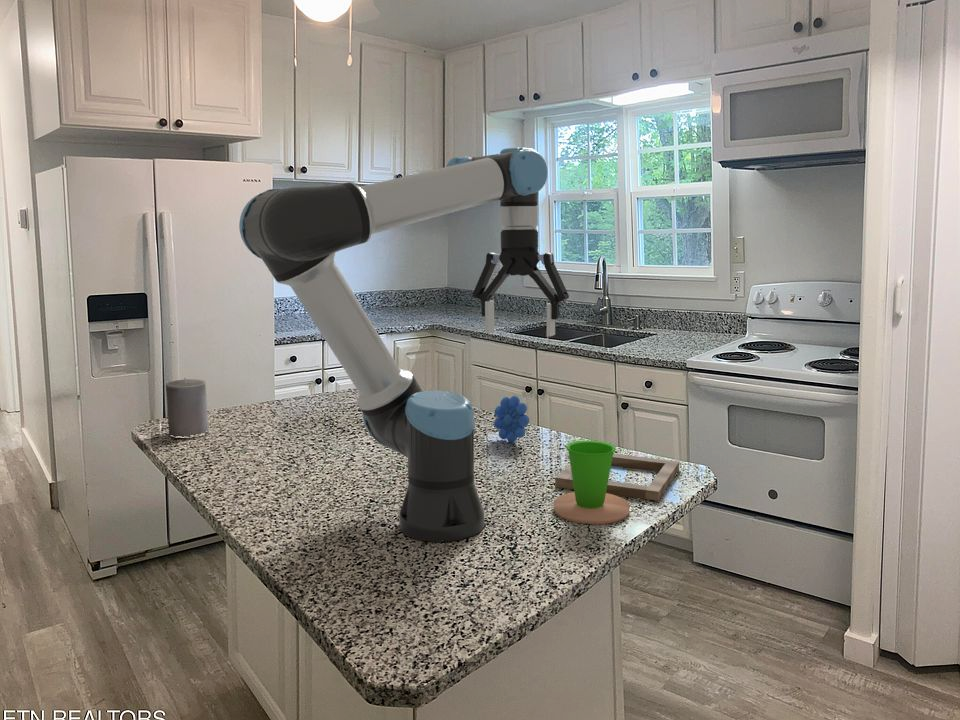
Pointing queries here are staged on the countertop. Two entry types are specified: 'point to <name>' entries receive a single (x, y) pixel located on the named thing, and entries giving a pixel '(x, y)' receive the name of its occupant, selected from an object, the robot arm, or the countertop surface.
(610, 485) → the frame
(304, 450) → the countertop surface
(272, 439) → the countertop surface
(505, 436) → the grapes
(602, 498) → the cup
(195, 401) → the pillar candle
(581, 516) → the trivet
